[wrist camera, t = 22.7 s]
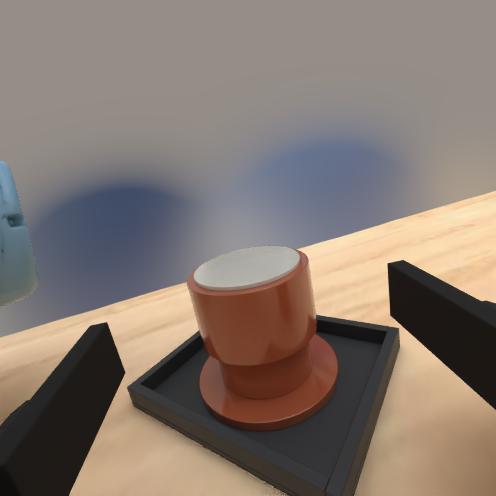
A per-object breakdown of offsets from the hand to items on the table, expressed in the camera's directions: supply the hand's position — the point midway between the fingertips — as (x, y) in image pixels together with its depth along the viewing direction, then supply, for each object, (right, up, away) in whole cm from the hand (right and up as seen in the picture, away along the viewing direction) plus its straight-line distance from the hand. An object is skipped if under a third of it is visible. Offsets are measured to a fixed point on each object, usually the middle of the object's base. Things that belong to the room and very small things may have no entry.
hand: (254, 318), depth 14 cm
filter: (+1, -8, +13) cm, 15 cm away
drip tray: (+1, -8, +13) cm, 15 cm away
